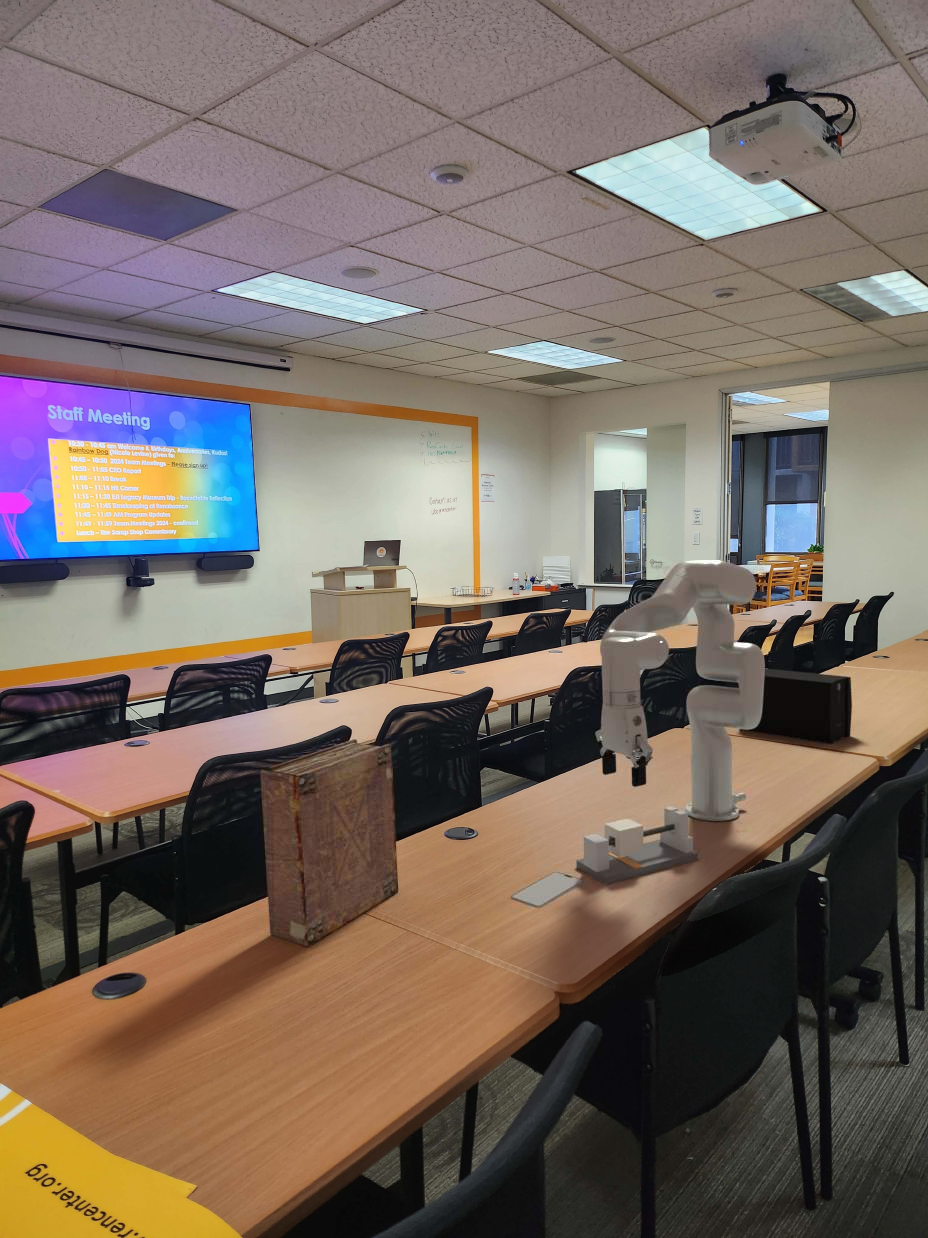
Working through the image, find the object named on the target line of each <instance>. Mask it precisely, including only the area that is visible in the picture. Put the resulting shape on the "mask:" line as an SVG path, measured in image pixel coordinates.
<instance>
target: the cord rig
mask: <svg viewBox="0 0 928 1238" xmlns="http://www.w3.org/2000/svg"><path fill="white" fill-rule="evenodd" d="M663 810H664V811H663V813H664V815H663V816H664V818H663V819H664V825H662V826H659V827H654V828H650V829H646V830H643V838H645V837H649V836H654V835H657V834H660V835H659V837H660V838H659V839H657V840H652V841H648V842H643V852H641V853H637V854H633V855H629V856H625V857H621V858H619V857H618V856H616V855H614V854H612V853H610V852H609V845H613V844H615V838H612V839H608V840H607V839H605V837H603V836H602V835H600V834H597V833H593V834H588V835H584V836H583V858H581V859H576V868H577V869H579V870H580V871H582V872H583V873H585V874H587V875H589V876H591V877H592V878H594V879H595V880H598V882H601V883H603V884H604V885H607V884H612V883H615V882H619V881H623V880H627V879H631V878H634V877H637V876H642V875H646V874H648V873H653V872H656V871H660V870H664V869H668V868H671V867H676V866H679V865H683V864H687V863H689V862H695V861H698V860H699V852H697V851H695V849H694V837H692V836H690V835H689V815H688V813H687V812H686V811H684V810H682V809H680V810H678V808H677V807H674V806H672V805H670V806H666V807H664V808H663Z"/></svg>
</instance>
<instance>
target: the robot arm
mask: <svg viewBox="0 0 928 1238" xmlns="http://www.w3.org/2000/svg"><path fill="white" fill-rule="evenodd" d="M756 589H757V583H756V579H755V576H754V575H753V573H752V572H751V570H749V569H748V568H746V567H743V566H740V565H737V564H734V563H732V562H728V561H724V560H717V559H716V560H713V559H712V560H711V559H710V560H686V561H681V562H679V563H676V564H675V565H674V566H673V567H672V568H671V570H670V571H669V572H668V573H667V575H666V576H665V578H664V579H663V581H662V582H661V583H660V585H659V586H658V587H657V589H656V591H655V592H654V593H653V594H652V596H651V597H650V598H647V599H645V600H642V601H641V602H639V603H637V604H635V605H633V606H632V607H630V608H628V609H626V610H625V611H623V612H622V613H620V614H619V615H617V616H616V618H614V620H612V622H611V624H609V626H608V628H607V629H606V630H605V632H604V634H603V636H602V638H601V641H600V644H599V652H600V657H601V677H602V678H601V680H602V683H601V684H602V709H601V717H600V718H601V720H600V729H599V730H597V731H595V736H596V740H597V746H598V747H599V753H600V755H601V761H602V762H601V764H602V765H601V766H602V769H601V771H602V775H605V776H607V775H611V774H615V773H617V755H616V754H620V755H622V756H626V757H629V759H630V761H631V763H632V765H633V766H631V785H632V787H634V788H636V787H642V786H645V785H646V784H647V766H648V765H649V762H650V761H651V757H652V754H653V752H654V748H653V747H652V746H651V745H650V744H649V743H648V729H647V721H646V715H645V712H644V707H643V705H642V704H641V673H640V671H641V670H652V669H656V668H659V667H661V666H662V665H663V664H664V663H665V662H666V661H667V659H668V657H669V652H670V648H669V647H670V646H669V643H668V641H667V640H666V638H665V636H662V635H661V634H659V633H657V631H661V630H665V629H668V628H671V627H672V628H673V627H674V626H677V625H679V624H681V623H682V622H684V620H685V619H686V617H687V616H688V614H689V612H690V611H691V610H692V609H693V612H694V613H695V615H696V619H697V637H696V651H695V652H696V654H695V668H696V672H697V674H698V675H699V677H700V678H703V679H706V680H713V681H721V682H729V683H730V682H731V683H738V687H729V686H720V685H710V684H709V685H708V684H707V685H705V684H703V685H698V686H696V687H693V688H692V689H691V690H690V691H689V692H688V694H687V696H686V704H685V705H686V711H687V716H688V721H689V728H690V729H689V730H690V744H691V745H690V747H691V748H690V749H691V753H690V754H691V755H690V758H691V759H690V761H691V762H690V763H691V766H690V767H691V769H690V770H691V802H689V803H687V804H686V805H685V806H684V807H685V808H684V810H685V812H687V813H688V816H689V817H691V818H694V819H699V820H702V821H707V822H725V821H731V820H734V819H736V818H737V817H738V816H739V815H740V812H739V811H740V810H739V807H737V806H736V804H737V803H739V802H743V801H746V799H747V795H746V793H745V792H740V793H734V791H733V771H732V770H733V758H732V757H733V756H732V755H733V747H732V746H733V744H732V741H731V737H730V735H729V733H728V732H727V730H726V728H730V729H737V730H741V729H753V728H755V727H756V726H758V724H759V722H760V720H761V716H762V707H763V692H764V676H765V669H766V668H765V667H766V664H765V663H766V661H765V657H764V653H763V651H762V649H761V648H760V646H758V645H757V644H754V643H750V642H737V641H735V620H734V617H733V615H732V613H731V612H730V610H729V608H728V607H727V606H726V605H732V606H733V605H735V606H736V605H737V606H739V605H741V606H743V605H746V604H748V603H750V602H751V601H752V600H753V599H754V596H755V593H756ZM655 632H656V633H655ZM637 756H638V759H637Z"/></svg>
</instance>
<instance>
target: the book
mask: <svg viewBox="0 0 928 1238" xmlns="http://www.w3.org/2000/svg"><path fill="white" fill-rule="evenodd" d="M392 755H393V753H392V744H389V743H387V744H384V745H381V746H379V745H372V744H365V743H358V740H357V739H351V740H347V741H345V742H342V743H339V744H336V745H333V746H330V747H327V748H324V749H321V750H318V751H315V752H311V753H309V754H306V755H303V756H300V757H298V758H294V759H291V760H288V761H286V762H282V763H279V764H276V765H273V766H271V767H270V766H269V767H268V768H264V769H262V770H260V771H259V772H260V790H261V803H262V804H261V805H262V821H263V836H264V837H263V839H264V851H265V852H264V853H265V855H264V856H265V869H266V885H267V887H266V888H267V889H266V890H267V901H268V902H267V903H268V904H267V905H268V918H269V933H270V935H271V936H275V937H277V936H278V937H277V938H280V937H281V938H280V939H283V938H284V939H283V940H285V941H289V942H291V941H292V942H293V943H294V942H295V944H297V943H298V945H300V944H301V946H303V945H304V946H303V947H306V946H307V947H306V948H309V947H311V946H313V945H315V944H316V943H318V942H319V941H321V940H323V939H325V938H326V937H328V936H330V935H331V934H333V933H334V932H336V931H337V930H340V928H342V927H344V926H346V925H347V924H349V923H351V922H352V921H354V920H356V919H357V918H359V917H360V916H362V915H364V914H366V913H367V912H369V911H371V910H372V909H374V908H375V907H377V906H378V905H381V904H382V903H383V902H386V901H387V900H388V899H390V898H392V897H394V896H395V895H397V894H398V893H399V879H398V878H399V876H398V857H397V836H396V835H397V834H396V816H395V815H396V813H395V794H394V792H395V791H394V775H393V773H394V771H393V756H392ZM325 936H326V937H325ZM322 938H323V939H322ZM317 941H318V942H317ZM312 944H313V945H312Z"/></svg>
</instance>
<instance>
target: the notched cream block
mask: <svg viewBox="0 0 928 1238" xmlns="http://www.w3.org/2000/svg"><path fill="white" fill-rule="evenodd" d="M643 831H644V824H641V823H638V822H636V821H635V820H632V819H630V818H624V819H619V820H617V821H610V822H607V823H604V838H605V839H607V840H608V839H612V838H615V844H613V845H609V852H610V853H612V854H614V855H616V856H618V857H619V858H621V857H625V856H629V855H633V854H637V853H641V852H643V844H644V837H643Z"/></svg>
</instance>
